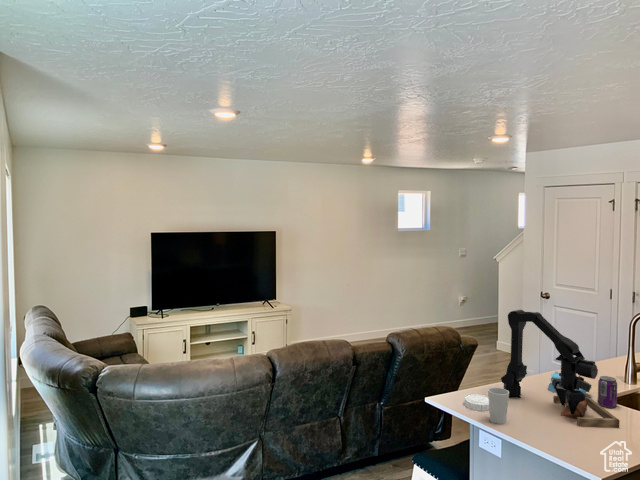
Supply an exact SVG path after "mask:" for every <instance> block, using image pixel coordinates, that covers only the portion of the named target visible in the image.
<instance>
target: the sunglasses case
mask: <svg viewBox="0 0 640 480" xmlns="http://www.w3.org/2000/svg"><path fill="white" fill-rule="evenodd" d="M587 408H588V405H587V402H586V400H585V401H583V402H580V403H579V404H578V406H577V408H576V410H575V413H574V414H571V413H570V410H569V406H568V403H566V404H565V406H564V408H563V410H562V412H561V413H560V417H565V418H570V419H574V420H577V417H585V415H586V411H587Z"/></svg>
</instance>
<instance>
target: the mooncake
mask: <svg viewBox="0 0 640 480" xmlns="http://www.w3.org/2000/svg"><path fill="white" fill-rule="evenodd" d="M463 403H464V404H463V405H464V406H465V408H467V409H469V410H473V411H477V412H489V397H488V395H484V394H474V393H472V394H469V395H465V397H464V398H463Z"/></svg>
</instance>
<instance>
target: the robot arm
mask: <svg viewBox="0 0 640 480" xmlns="http://www.w3.org/2000/svg"><path fill="white" fill-rule="evenodd" d="M507 322H508V326H509V328H510V329H511V330H510V331H511V335H510V337H511V339H510V361H509V363H508V364H507V367H506V373H505V374H504V375H502V377H500V380H501V383H502V384H503V389H506V390H508V391H509V399H510V398H511V399H512V398H513V399H514V398H515V399H521V398H522V397H521V396H522V394H521V393H522V386H521V385H520V384H521V382H522V381H523V380H524V379H525V378H526V375H528V372H527V370H528V369H527V367H528V366H527V365H525V364H524V362H523V343H524V342H523V338H524V333H523V332H524V329H525V327H526V325H527V322H528V323H529V322H531V323H533V324H534V325H535V326H536V327H537V328H538V329H539V330H540V331H541V332H542V333H543V334H544V335H546V337H547V338H548V339H549V340H550V341H551V342H552V343H553V345H554V347H555V349H556V350H557V351H558V353H559V355H558V356H557V357H556V358H555V360H556V361H559V362H560V372H558V374H559V376H560V377H561V379H554V380H553V381H552V385H553V386H554V389H555V391H556V393H555V394H556V396H558V398H559V400H560V403H561V404H560V405H561V406H563V407H565V406H566V404H565V401H566V400H567V403H568V406H569V410H570V413H571V414H574V413H575V410H576V408H577V406H578V404H579V403H580V402H583V401H585V400H586V397H587V396H586V395H585V394H583V393H582V392H581V391H580V390H579V388H580V389H582V390H585V391H586V393H590V391H591V389H592V388H591V387H592V384H591V383H589V382H588V381H585V378H588V379H592V380H595V379H597V377H598V372H599V369H598V367H597V365H596V361H594V360H587V359H585V357H584V355H583V354H582V352H581V351H580V346H579V345H578V344H577V343H576V342H575V341H573V340H572V339H570V338H568V337H566V336H564V334H561V332H560V331H558V329H557V328H555V327H554V326H553V325H552V324H551V323H550V322H549V321H548V320H547V319H546V318H545V317H544V316H542V314H541V313H540V312H538V311H535V312H533V311H525V310H523V309H517V310H516V309H515V310H512V311H510V312H508V313H507ZM584 377H585V378H584ZM590 388H591V389H590ZM575 389H576V390H575Z"/></svg>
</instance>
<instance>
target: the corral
mask: <svg viewBox="0 0 640 480" xmlns="http://www.w3.org/2000/svg"><path fill="white" fill-rule="evenodd" d="M552 398H553V400H552V403H553V404H556V405H558V404H559V405H561V403H560V400H559V398H558V396H557V395H553V397H552ZM586 402H587V407H589V408H590V409H592V411H594V412H595V413H596V414H598V415H599V416H600V417H585V416H584V417H577V419H576V425H577V426H578V427H585V428H586V427H589V428H609V429H610V428H611V429H620V420H619V418H617V417H616V416H615V415H613V414H612V413H611V412H609V411H608V410H607V409H606V408H605V407H604V406H602V405H600V404H599V403H598V402H596V400H594V399H592V398H591V397H590V396H586ZM566 403H567V400H566V401H565V405H566Z"/></svg>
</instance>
